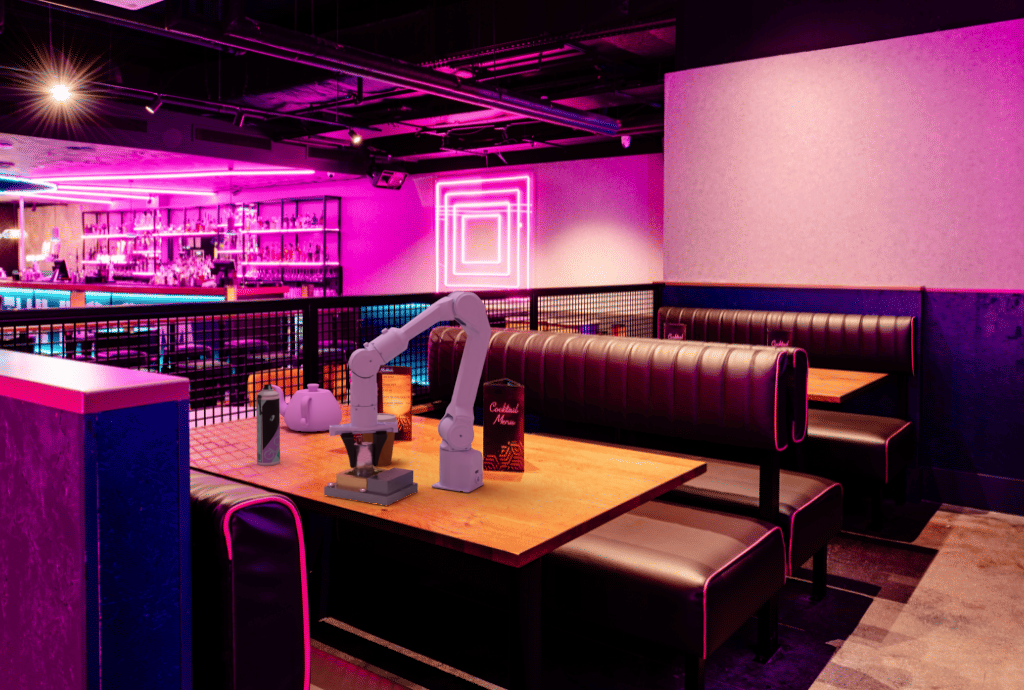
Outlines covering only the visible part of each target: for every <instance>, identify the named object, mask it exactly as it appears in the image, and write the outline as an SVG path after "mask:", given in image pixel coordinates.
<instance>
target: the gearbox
mask: <svg viewBox="0 0 1024 690" xmlns="http://www.w3.org/2000/svg"><path fill="white" fill-rule="evenodd" d="M335 475H336V476H335V482H327V483H326V485H325V486H324V487H323V490H324V491H323V496H324V495H327V496H326V497H328V496H334V497H339V498H338V499H340V498H345V499H344V500H346V499H351V500H350V501H352V500H357V501H356V502H358V501H363V502H362V503H364V502H370V503H377V504H382V505H389V504H391V503H393V502H395V501H397V500H399V501H401V500H403V499H402V498H404V497H406V496H408V495H410V494H412V493H414V494H416V493H418V492H417V491H418V487H419V483H418V482H415V481H414V470H413V469H406V468H399V467H392V468H390V469H388V468H387V469H385V468H378V467H374V475H373V476H371V477H368V478H366V477H359V476H353V468H351V467H350V468H349V469H345V470H343V471H340V472H337V473H336V474H335ZM415 492H416V493H415ZM412 495H413V494H412ZM410 496H411V495H410ZM334 497H333V498H334ZM408 497H409V496H408ZM406 498H407V497H406ZM400 499H401V500H400ZM404 499H405V498H404ZM397 502H398V501H397ZM395 503H396V502H395ZM393 504H394V503H393ZM391 505H392V504H391ZM389 506H390V505H389Z"/></svg>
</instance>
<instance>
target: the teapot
mask: <svg viewBox="0 0 1024 690" xmlns="http://www.w3.org/2000/svg"><path fill="white" fill-rule="evenodd" d="M270 384H271V383H270ZM306 386H307V388H305V389H304V388H303V389H299V390H296V391H295V392H294V393H293V394H292V397H291V398H290V400H289V402H288V403H286V401H285V398H284V397H285V396H284V391H283V389H282V388H281V387H280V386H278V385H275V384H271V387H272V388H273V389H274V391H276V392H277V393H279V405H280V415H281V416H282V418H283V421H284V423H285V424H286V426H287V427H288V428H289V430H292V431H295V432H298V431H301V432H305V433H306V432H311V433H312V432H317V431H324V432H326V431H329V426H330V425H340V424H341V422H342V420H343V415H342V414H343V413H342V410H341V409H342V408H341V407H340V403H339V402H338V400H337V398H336V397H335V396H334V394H333V392H332V391H331V390H330V389H325V388H319V386H320V384H318V383H308V384H307V385H306Z"/></svg>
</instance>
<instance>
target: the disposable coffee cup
mask: <svg viewBox="0 0 1024 690" xmlns="http://www.w3.org/2000/svg"><path fill="white" fill-rule="evenodd" d="M377 422H396V423H398V422H399V420H398V419H397V415H395V414H392V413H382V412H381V413H380V412H379V413H378V412H377ZM387 435H388V437H387V440H386V442H385V444H384V446H383V448H382V450H381V453H380V457H379V461H378V466H377V467H383V466H384V467H385V466H388V465H390V464H392V459H393V451H394V444H395V435H396V432H387ZM361 436H362V442H371V443H373V433H362V435H361Z"/></svg>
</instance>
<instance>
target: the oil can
mask: <svg viewBox="0 0 1024 690" xmlns="http://www.w3.org/2000/svg"><path fill="white" fill-rule="evenodd" d="M355 437H356V439H355V442H354V461H355V467H354V468H353V476H359V477H366V478H368V477H371V476H373V475H374V468H375V466H374V443H371V442H363V435H357V436H355Z"/></svg>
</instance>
